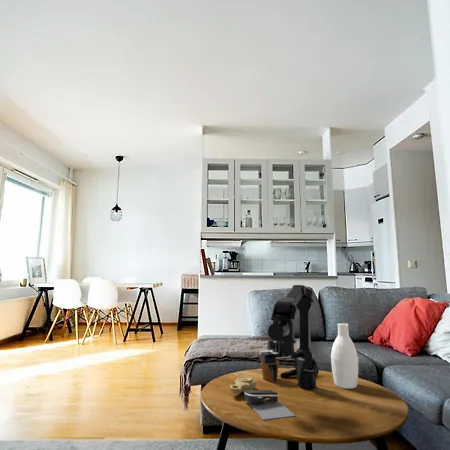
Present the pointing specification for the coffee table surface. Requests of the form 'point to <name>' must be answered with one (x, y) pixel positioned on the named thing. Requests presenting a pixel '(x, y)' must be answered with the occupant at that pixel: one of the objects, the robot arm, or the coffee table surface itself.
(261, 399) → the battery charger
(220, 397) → the coffee table surface
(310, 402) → the coffee table surface
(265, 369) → the disposable coffee cup
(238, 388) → the oil lamp
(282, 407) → the mat
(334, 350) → the bottle
